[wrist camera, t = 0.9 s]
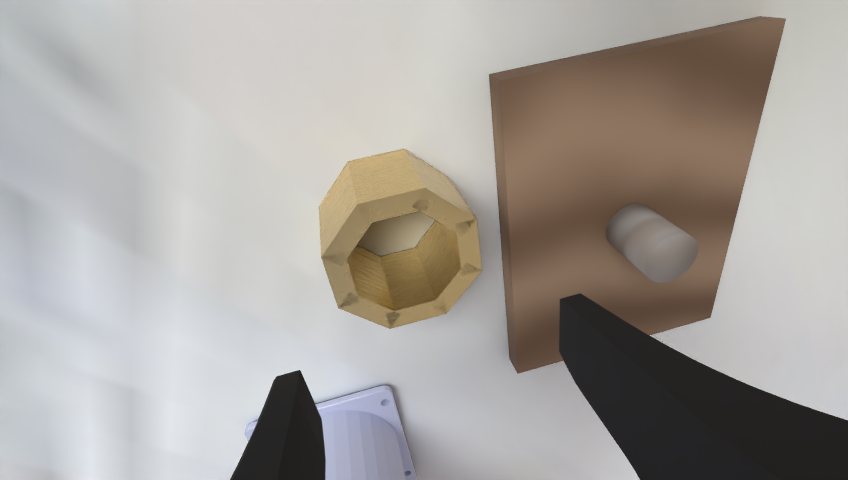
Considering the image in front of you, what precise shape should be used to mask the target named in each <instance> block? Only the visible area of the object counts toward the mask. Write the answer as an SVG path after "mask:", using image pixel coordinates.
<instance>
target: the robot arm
mask: <svg viewBox="0 0 848 480" xmlns="http://www.w3.org/2000/svg"><path fill="white" fill-rule="evenodd" d="M559 352H560V354H561V356H562V358H563V360H564V362H565V364H566V366H567V368H568V370H569V372H570V373H571V375H572V377H573V379H574V381H575V383H576V384H577V386H578V387H579V389H580V390H581V392H582V393H583V395H584V396H585V398H586V399H587V401H588V402H589V404H590V405H591V407H592V408H593V409H594V411H595V412H596V414H597V415H598V417H599V418H600V420H601V421H602V422H603V424H604V425H605V427H606V428H607V430H608V431H609V433H610V434H611V435H612V437H613V438H614V440H615V441H616V443H617V444H618V445H619V447H620V448H621V450H622V451H623V453H624V454H625V456H626V457H627V459H628V460H629V462H630V464H631V465H632V467H633V468H634V470H635V471H636V473H637V475H638V477H639V478H640V480H848V420H845V419H841V418H838V417H835V416H832V415H829V414H826V413H823V412H820V411H817V410H814V409H811V408H808V407H805V406H802V405H800V404H797V403H794V402H791V401H789V400H786V399H783V398H781V397H778V396H776V395H773V394H770V393H768V392H765V391H763V390H760V389H757V388H755V387H753V386H750V385H748V384H745V383H743V382H741V381H738V380H736V379H734V378H732V377H730V376H727V375H725V374H723V373H721V372H718V371H716V370H714V369H712V368H710V367H708V366H706V365H703V364H701V363H699V362H697V361H695V360H693V359H691V358H690V357H688V356H686V355H684V354H682V353H680V352H678V351H676V350H674V349H672V348H670V347H669V346H667V345H665V344H663V343H661V342H660V341H658V340H656V339H654V338H653V337H651V336H649V335H647V334H646V333H644V332H642V331H641V330H639V329H637V328H636V327H634V326H632V325H631V324H629V323H627V322H626V321H624V320H622V319H621V318H619V317H618V316H616V315H614V314H613V313H611V312H610V311H608V310H606V309H605V308H603V307H602V306H600V305H599V304H597V303H595V302H594V301H592V300H591V299H589V298H587V297H586V296H584V295H583V294H581V293H579V294H576V295H572V296H568V297H565V298H561V299H560V320H559ZM385 399H387V400H385ZM245 436H246V438H247V439H248V441H249V442H248V444H247V446H246V448H245V450H244V453H243V455H242V457H241V459H240V461H239V463H238V465H237V467H236V469H235V471H234V473H233V475H232V477H231V479H230V480H417V477H416V473H415V469H414V466H413V462H412V459H411V455H410V452H409V448H408V445H407V441H406V438H405V435H404V431H403V428H402V424H401V421H400V417H399V414H398V410H397V407H396V403H395V400H394V396H393V393H392V389H391V388H390V387H389V386H385V385H383V386H378V387H375V388H371V389H368V390H364V391H361V392H357V393H354V394H350V395H347V396H343V397H340V398H336V399H333V400H329V401H326V402H322V403H319V404H315V403H314V400H313V398H312V396H311V394H310V391H309V389H308V387H307V385H306V382H305V380H304V378H303V375H302V373H301V371H300V370H298V371H295V372H291V373H287V374H284V375H280V376H277V377H276V378H275V380H274V381H273V384H272V387H271V389H270V392H269V394H268V397H267V400H266V402H265V405H264V407H263V409H262V412H261V414H260V417H259V419H258V421H255V422H252V423H250V424H248V425H247V426H246V428H245Z"/></svg>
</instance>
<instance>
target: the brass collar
mask: <svg viewBox="0 0 848 480" xmlns="http://www.w3.org/2000/svg"><path fill="white" fill-rule="evenodd" d="M418 211H420V212H422V213H424V214H426V215H427V216H429V217H431V218H433V219H435V220H436V221H435V222H434V223H433V225H432V226H431V227H430V229H429V230H428V231H427V233H426V234H425V235H424V237H423V238H422V239H421V241H420V242H419V243H418V245H417V246H416V247H415V248H413V249H409V250H405V251H401V252H397V253H393V254H389V255H385V256H381V257H380V256H378V255H376V254H374V253H372V252H369V251H367V250H365V249H363V248H361V247H359V246H357V244H358V242H359V241H360V239H361V238H362V236H363V235H364V234H365V232H366V231H367V229H368V228H369V226H370V225H371V224H372V222H376V221H381V220H385V219H389V218H393V217H397V216H401V215H405V214H409V213H413V212H418ZM319 217H320V240H321V258H322V261H323V264H324V267H325V270H326V273H327V276H328V279H329V282H330V285H331V288H332V291H333V294H334V297H335V300H336V303H337V306H338V308H339V309H342V310H344V311H347V312H349V313H352V314H354V315H357V316H359V317H362V318H364V319H367V320H369V321H372V322H374V323H377V324H379V325H382V326H384V327H387V328H389V329H391V328H395V327H398V326H402V325H406V324H409V323H413V322H417V321H420V320H424V319H428V318H432V317H435V316H439V315H443V314H446V313H447V312H448V311H449V310H450V308H451V307H452V306H453V305H454V304H455V302H456V301H457V300H458V299H459V298H460V296H461V295H462V294H463V293H464V292H465V290H466V289H467V288H468V287H469V286H470V284H471V283H472V282H473V281H474V280H475V278H476V277H477V276H478V275H479V273H480V272H481V271H482V265H481V256H480V246H479V236H478V227H477V218H476V217H475V215H474V214H473V213H472V211H471V210H470V208H469V207H468V205H467V204H466V202H465V201H464V200H463V198H462V197H461V195H460V194H459V192H458V191H457V190H456V188H455V187H454V185H453V184H452V182H451V181H450V179H449V178H448V177H447V176H446V175H444V174H443V173H441V172H440V171H438V170H436V169H435V168H433V167H432V166H430V165H428V164H427V163H425V162H424V161H422V160H421V159H419V158H417V157H416V156H414V155H413V154H411V153H409V152H408V151H406V150H405V149H402V150H397V151H393V152H388V153H384V154H380V155H375V156H371V157H366V158H362V159H358V160H353V161H349V162H348V163H347V164H346V166H345V167H344V169H343V170H342V172H341V173H340V175H339V177H338V178H337V180H336V181H335V183H334V184H333V186H332V187H331V189H330V191H329V192H328V194H327V195H326V197H325V198H324V200H323V201H322V203H321V205H320V206H319Z"/></svg>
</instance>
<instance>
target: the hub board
mask: <svg viewBox="0 0 848 480" xmlns="http://www.w3.org/2000/svg"><path fill="white" fill-rule="evenodd" d="M785 21H786V19H784V18H773V17H761V16H760V17H755V18H751V19H746V20H741V21H737V22H732V23H727V24H723V25H718V26H713V27H709V28H704V29H699V30H694V31H690V32H685V33H680V34H676V35H671V36H666V37H662V38H657V39H652V40H648V41H643V42H638V43H634V44H629V45H624V46H620V47H615V48H610V49H606V50H601V51H596V52H592V53H587V54H582V55H577V56H573V57H568V58H563V59H559V60H554V61H549V62H545V63H540V64H535V65H531V66H526V67H521V68H517V69H512V70H507V71H503V72H498V73H493V74H489V79H490V93H491V107H492V121H493V135H494V149H495V163H496V177H497V191H498V205H499V219H500V233H501V246H502V260H503V274H504V288H505V302H506V316H507V330H508V344H509V358H510V360H511V362H512V364H513V366H514V368H515V370H516V371H517V373H522V372H525V371H529V370H532V369H535V368H539V367H542V366H546V365H549V364H553V363H556V362H559V361H563V358H562V356H561V354H560V352H559V320H560V299H561V298H565V297H568V296H572V295H576V294H579V293H581V294H583V295H584V296H586V297H587V298H589V299H591V300H592V301H594V302H595V303H597V304H599V305H600V306H602V307H603V308H605V309H606V310H608V311H610V312H611V313H613V314H614V315H616V316H618V317H619V318H621V319H622V320H624V321H626V322H627V323H629V324H631V325H632V326H634V327H636V328H637V329H639V330H641V331H642V332H644V333H646V334H647V335H652V334H656V333H659V332H663V331H666V330H670V329H673V328H676V327H680V326H683V325H687V324H690V323H694V322H697V321H700V320H704V319H707V318H710V317H711V313H712V309H713V305H714V301H715V297H716V293H717V289H718V285H719V281H720V277H721V273H722V269H723V265H724V261H725V257H726V253H727V250H728V246H729V242H730V238H731V234H732V230H733V226H734V222H735V218H736V214H737V210H738V206H739V202H740V198H741V194H742V190H743V186H744V182H745V178H746V175H747V171H748V167H749V163H750V159H751V155H752V151H753V147H754V143H755V139H756V135H757V131H758V127H759V123H760V119H761V115H762V111H763V107H764V103H765V99H766V96H767V92H768V88H769V84H770V80H771V76H772V72H773V68H774V64H775V60H776V56H777V52H778V48H779V44H780V40H781V36H782V32H783V28H784V24H785Z"/></svg>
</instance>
